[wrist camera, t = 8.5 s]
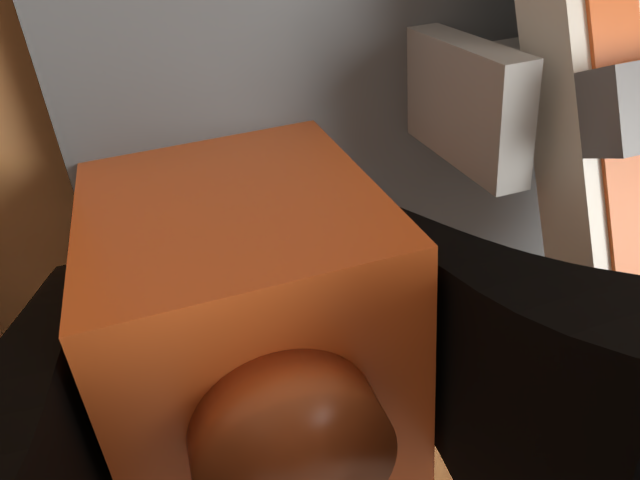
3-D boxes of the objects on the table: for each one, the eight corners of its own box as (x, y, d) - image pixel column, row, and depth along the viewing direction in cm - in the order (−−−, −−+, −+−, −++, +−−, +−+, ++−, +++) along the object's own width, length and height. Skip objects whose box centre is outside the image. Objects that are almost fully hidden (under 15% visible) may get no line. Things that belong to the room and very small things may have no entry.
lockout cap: (330, 303, 13) (459, 530, 8) (135, 353, 12) (154, 641, 8) (313, 120, 11) (472, 281, 6) (77, 163, 10) (53, 390, 5)
